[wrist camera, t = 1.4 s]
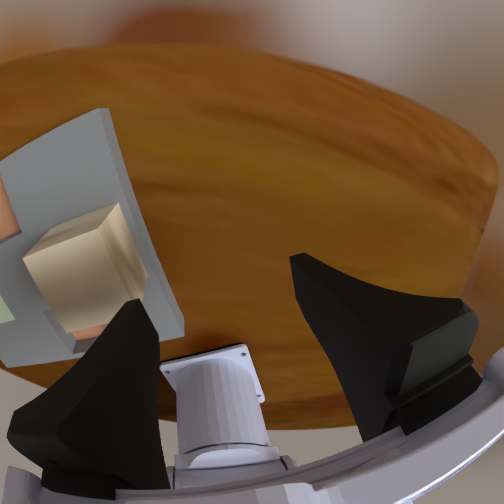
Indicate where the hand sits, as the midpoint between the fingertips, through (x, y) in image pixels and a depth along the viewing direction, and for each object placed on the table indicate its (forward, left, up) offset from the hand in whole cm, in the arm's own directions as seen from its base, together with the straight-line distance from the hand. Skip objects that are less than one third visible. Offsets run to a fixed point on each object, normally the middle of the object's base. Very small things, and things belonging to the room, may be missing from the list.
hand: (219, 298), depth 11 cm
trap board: (+1, +14, -8) cm, 16 cm away
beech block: (+1, +7, -6) cm, 10 cm away
